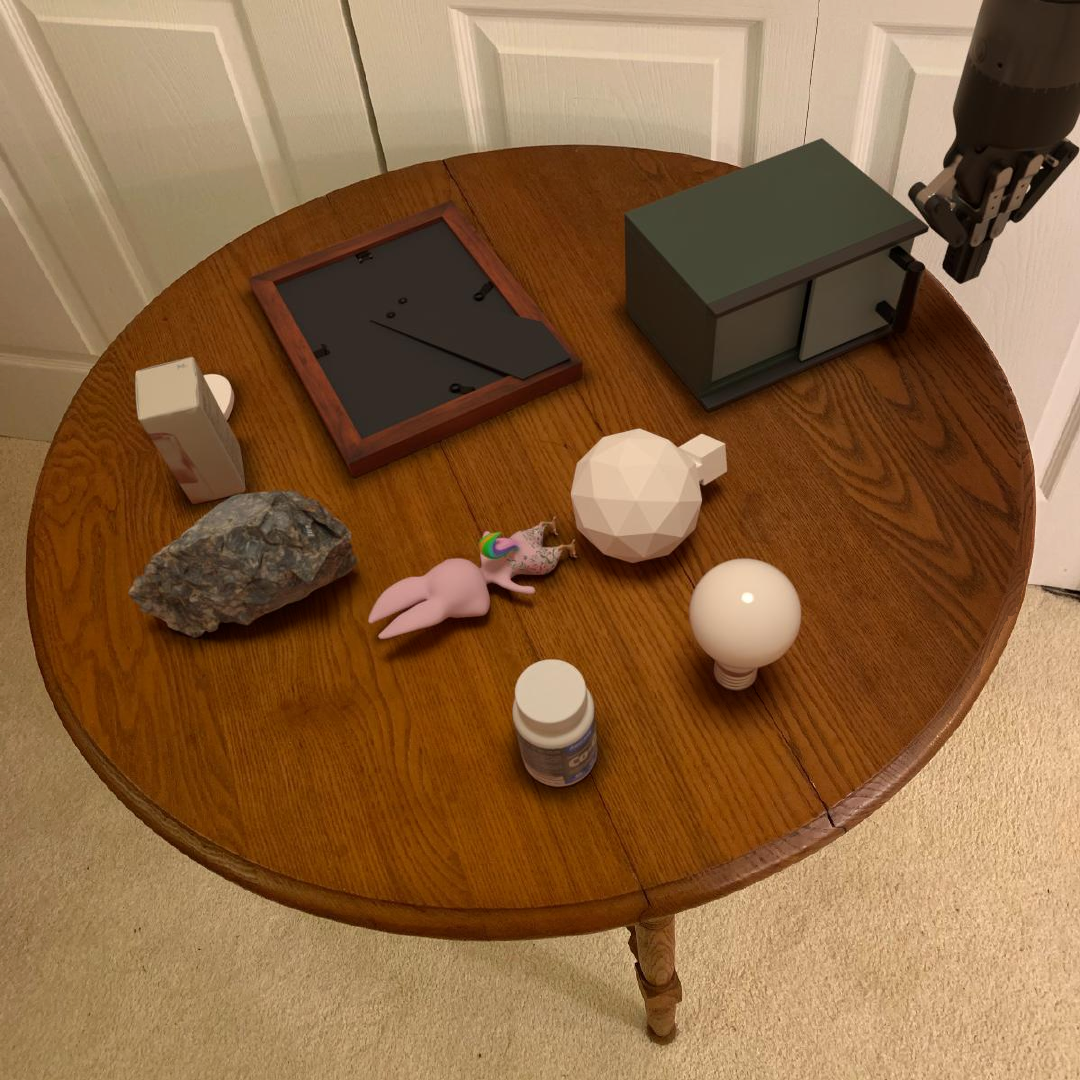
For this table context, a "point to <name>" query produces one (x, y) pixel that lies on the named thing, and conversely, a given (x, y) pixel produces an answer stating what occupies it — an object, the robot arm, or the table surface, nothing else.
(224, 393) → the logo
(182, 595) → the rock
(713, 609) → the lightbulb
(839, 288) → the door
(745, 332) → the cabinet
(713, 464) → the perfume bottle
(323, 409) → the picture frame
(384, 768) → the table surface
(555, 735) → the pill bottle
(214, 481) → the cream cardboard box
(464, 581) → the rabbit figure
